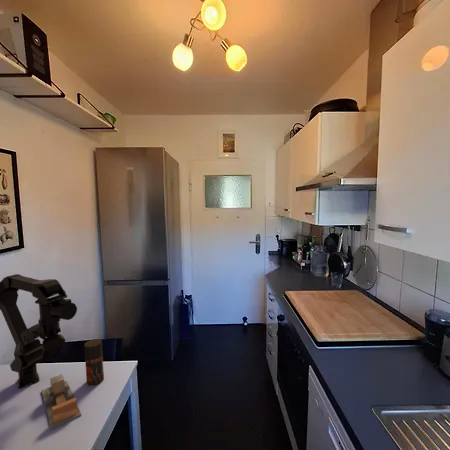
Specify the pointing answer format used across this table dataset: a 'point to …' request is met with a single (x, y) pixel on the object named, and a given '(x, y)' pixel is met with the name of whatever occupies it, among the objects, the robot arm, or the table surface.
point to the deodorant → (94, 362)
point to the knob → (57, 387)
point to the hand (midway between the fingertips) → (52, 357)
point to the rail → (61, 408)
